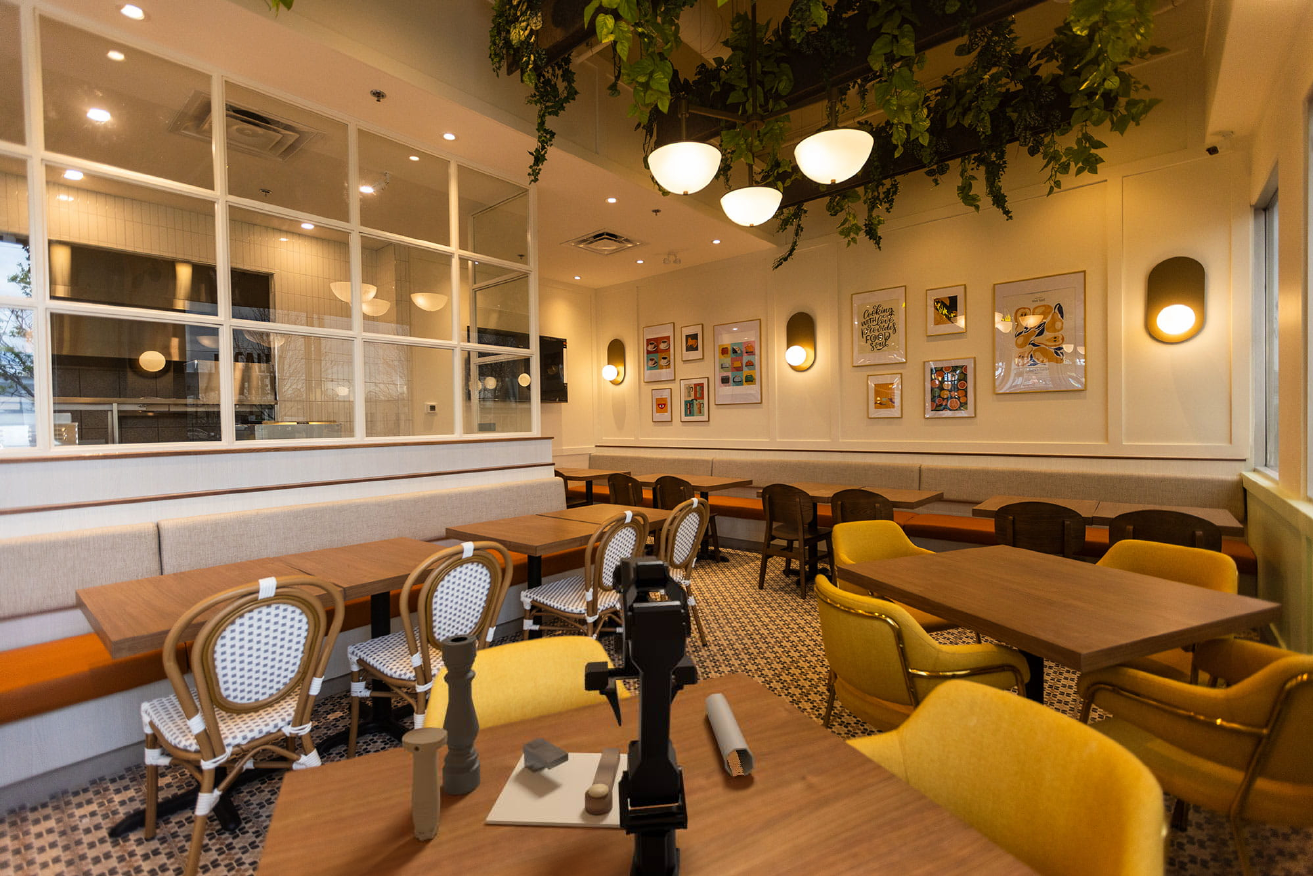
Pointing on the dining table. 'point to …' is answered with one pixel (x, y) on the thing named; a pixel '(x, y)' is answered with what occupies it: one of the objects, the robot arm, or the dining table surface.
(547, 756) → the block
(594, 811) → the link
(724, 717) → the tube
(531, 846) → the dining table surface
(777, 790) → the dining table surface
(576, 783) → the pivot plate
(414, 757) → the handle
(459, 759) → the candle holder
